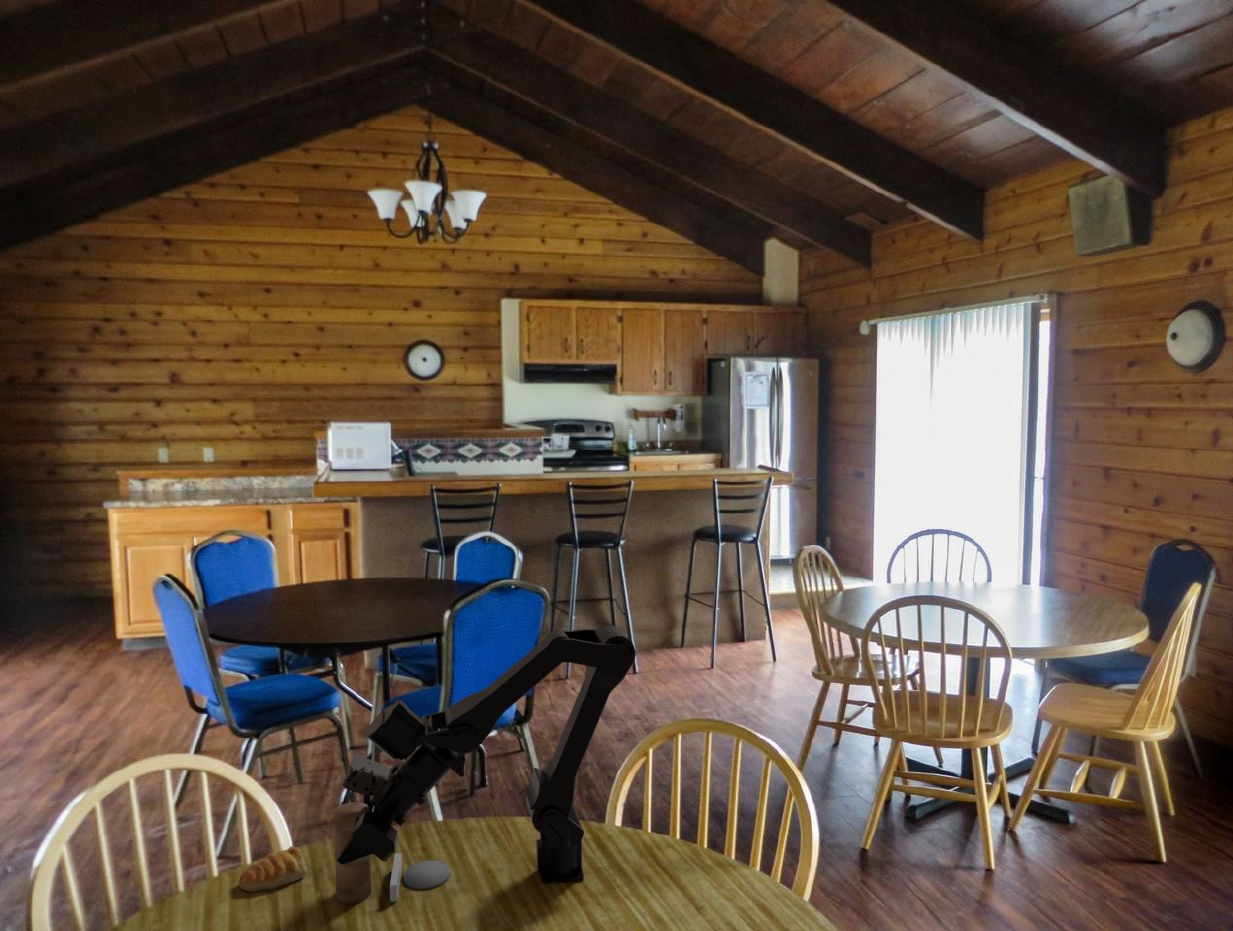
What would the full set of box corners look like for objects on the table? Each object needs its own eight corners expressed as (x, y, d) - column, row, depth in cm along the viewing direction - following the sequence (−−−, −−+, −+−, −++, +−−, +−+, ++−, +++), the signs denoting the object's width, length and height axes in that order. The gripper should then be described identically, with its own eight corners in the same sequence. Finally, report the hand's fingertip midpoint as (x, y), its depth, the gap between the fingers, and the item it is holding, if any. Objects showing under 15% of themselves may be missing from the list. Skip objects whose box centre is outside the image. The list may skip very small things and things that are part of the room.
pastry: (248, 902, 130) (247, 877, 129) (232, 883, 135) (231, 859, 134) (310, 877, 136) (309, 854, 135) (293, 860, 141) (292, 837, 140)
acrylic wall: (401, 867, 138) (401, 852, 138) (397, 901, 129) (396, 884, 129) (395, 868, 138) (394, 853, 138) (390, 901, 129) (389, 885, 129)
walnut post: (373, 882, 134) (370, 800, 133) (369, 901, 129) (366, 816, 128) (339, 886, 133) (336, 803, 132) (333, 905, 128) (330, 819, 127)
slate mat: (450, 861, 140) (450, 858, 140) (449, 886, 133) (449, 883, 133) (405, 865, 139) (405, 862, 139) (402, 891, 132) (401, 887, 132)
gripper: (384, 717, 139) (314, 788, 138) (366, 768, 120) (285, 851, 120) (437, 762, 140) (367, 833, 140) (427, 820, 122) (347, 902, 122)
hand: (342, 852), depth 130 cm, fingers closed on walnut post, 5 cm apart
